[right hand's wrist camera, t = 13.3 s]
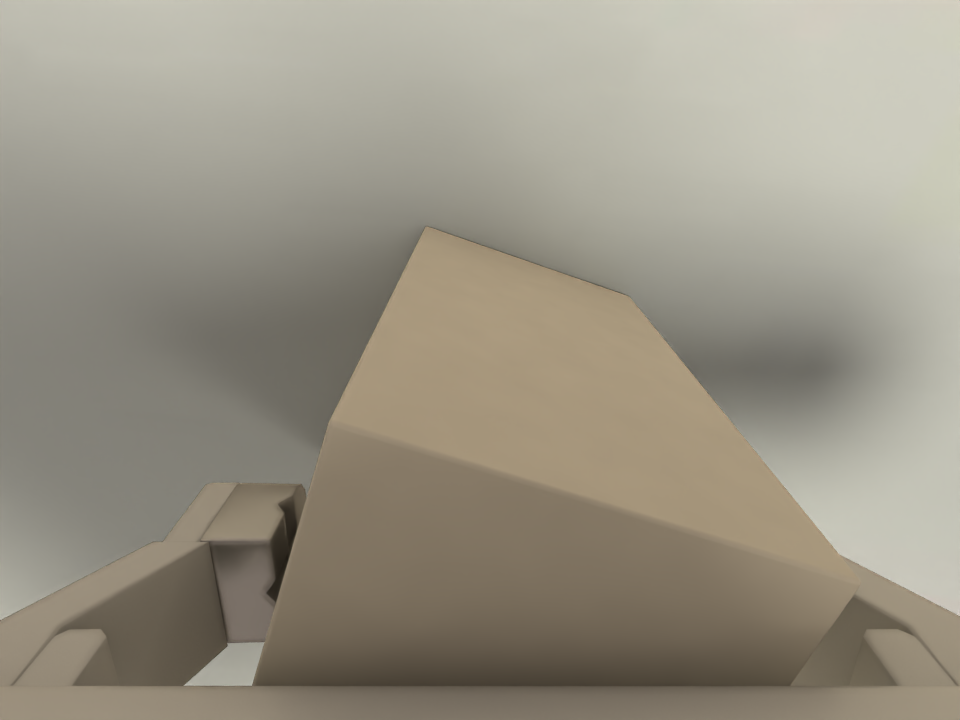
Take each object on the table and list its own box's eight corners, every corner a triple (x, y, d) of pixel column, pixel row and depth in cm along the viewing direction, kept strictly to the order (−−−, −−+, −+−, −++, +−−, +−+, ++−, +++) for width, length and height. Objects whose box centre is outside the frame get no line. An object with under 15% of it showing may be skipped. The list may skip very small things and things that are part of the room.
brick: (630, 296, 15) (865, 583, 6) (528, 525, 17) (581, 987, 8) (425, 225, 14) (329, 420, 5) (348, 472, 16) (187, 907, 7)
